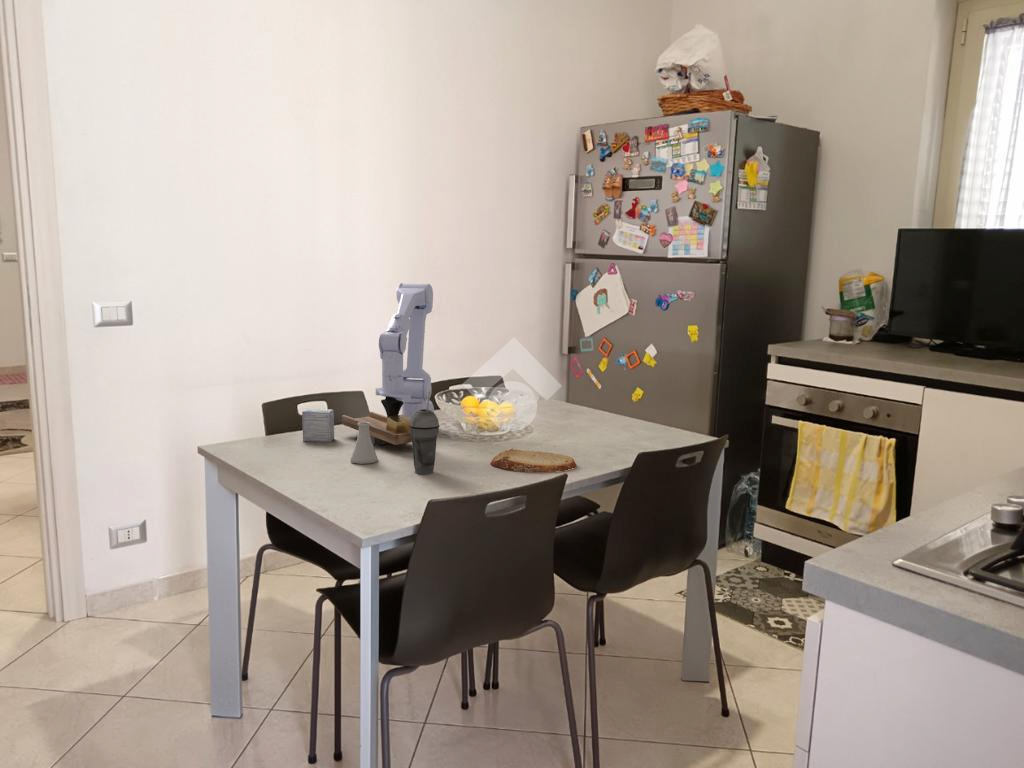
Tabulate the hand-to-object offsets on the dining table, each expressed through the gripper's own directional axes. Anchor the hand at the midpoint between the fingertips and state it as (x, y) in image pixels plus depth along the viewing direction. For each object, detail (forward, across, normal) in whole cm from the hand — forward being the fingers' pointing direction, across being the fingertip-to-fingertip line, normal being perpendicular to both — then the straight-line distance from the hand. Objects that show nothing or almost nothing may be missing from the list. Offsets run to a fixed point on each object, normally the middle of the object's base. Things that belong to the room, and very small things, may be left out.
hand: (392, 424), depth 222 cm
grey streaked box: (+6, -18, -13) cm, 23 cm away
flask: (+6, +10, -15) cm, 19 cm away
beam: (+3, -4, 0) cm, 5 cm away
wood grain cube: (+2, +3, 0) cm, 3 cm away
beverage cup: (+6, +28, -9) cm, 30 cm away
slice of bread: (+7, +39, +17) cm, 43 cm away
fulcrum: (+6, -4, 0) cm, 7 cm away
